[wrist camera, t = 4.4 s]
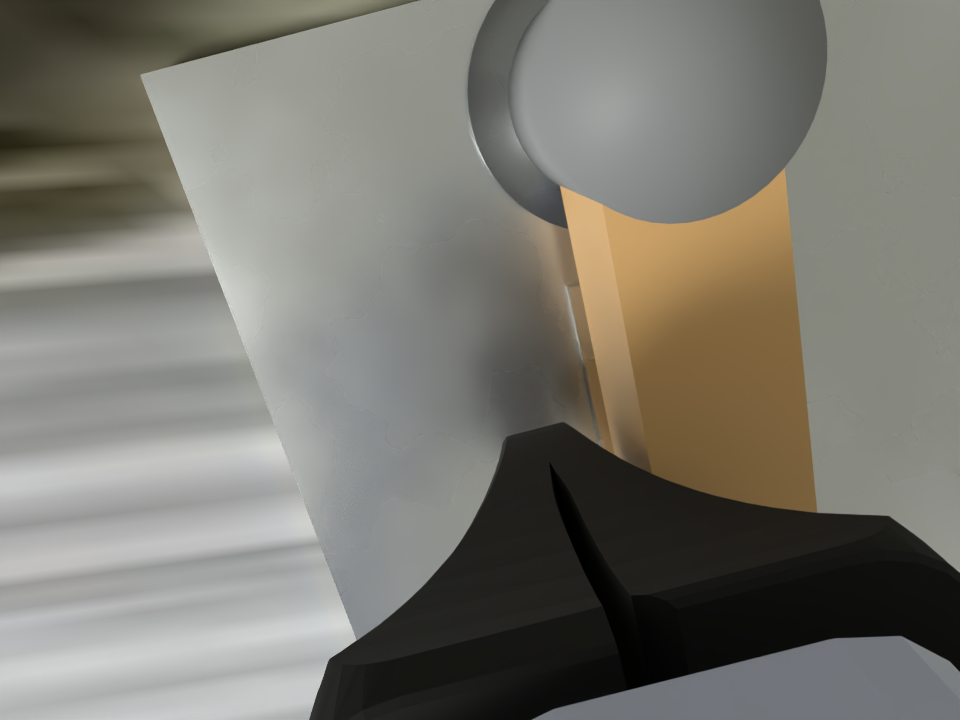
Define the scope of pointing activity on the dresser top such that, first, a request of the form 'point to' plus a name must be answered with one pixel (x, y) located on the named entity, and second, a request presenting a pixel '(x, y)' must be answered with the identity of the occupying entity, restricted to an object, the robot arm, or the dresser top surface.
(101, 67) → the dresser top surface
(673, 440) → the tan piece
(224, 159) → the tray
